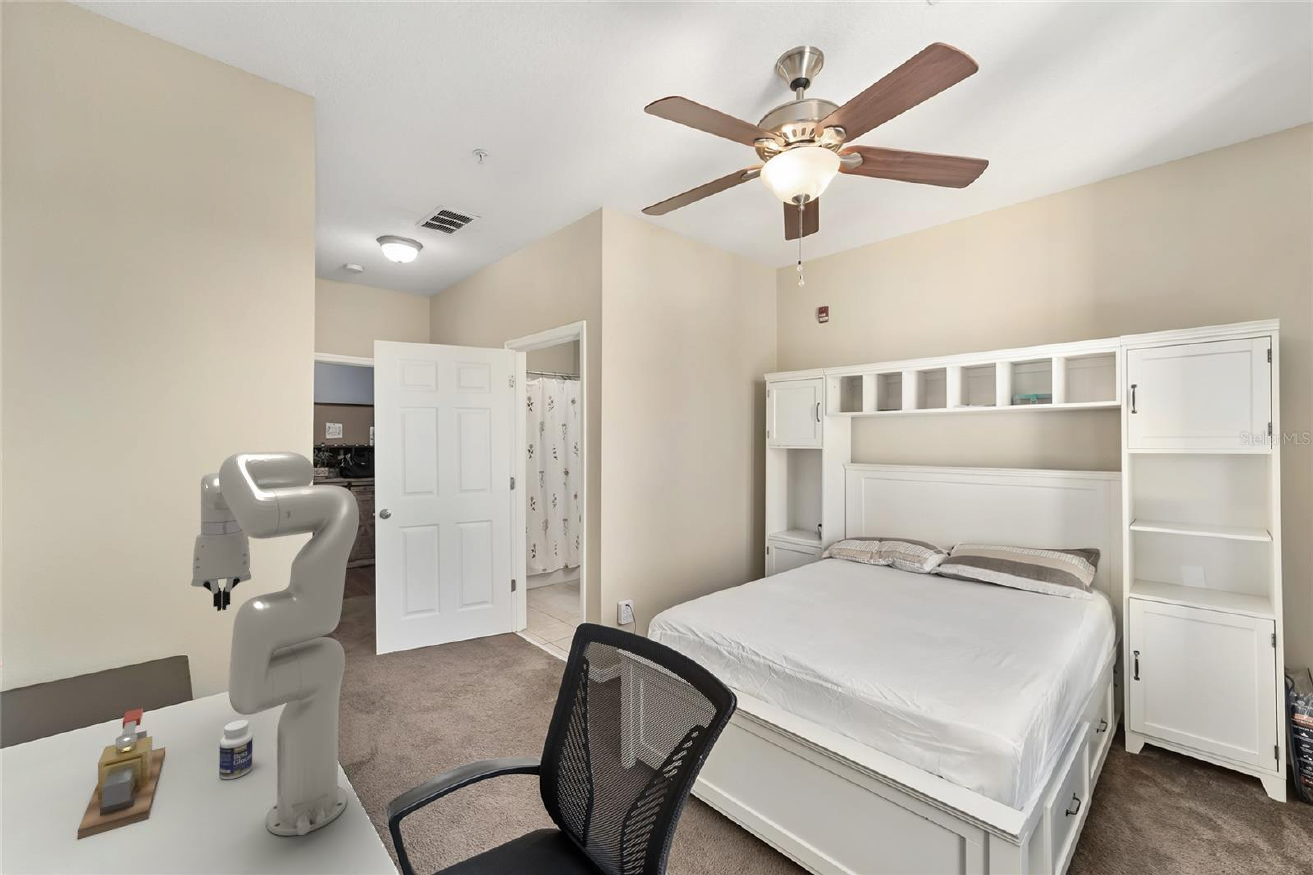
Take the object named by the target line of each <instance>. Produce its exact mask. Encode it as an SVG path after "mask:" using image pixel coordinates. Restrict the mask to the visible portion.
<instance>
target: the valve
mask: <svg viewBox="0 0 1313 875" xmlns="http://www.w3.org/2000/svg"><path fill="white" fill-rule="evenodd" d="M147 731H148V730H144V731H140V732H139V731H138V732H135V733H136V734H137V746H136V747H134V748H132V749H130V750H127V751H123V752H116V743H115V744H112V745H107V746H104V749H103V751H102V753H101V755H100V758H99V760H98V762H97V784H98V800H99V799H102V802H101V805H100V816H101V815H104V814H108V813H112V812H115V811H119V810H122V809H126V808H129V807H133V806H134V804H135V800H136V789H140V788H144V787H147V786H148V783H149V780H150V776H151V773H152V750H153V736H148V732H147ZM133 790H134V791H133Z"/></svg>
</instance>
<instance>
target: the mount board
mask: <svg viewBox="0 0 1313 875" xmlns="http://www.w3.org/2000/svg"><path fill="white" fill-rule="evenodd" d="M165 755H166V747H165V746H164V747H160V748H156V749H152V773H151V776H150V780H149V783H148V786H147V787H144V788H140V789H136V800H135V804H134V806H133V807H129V808H126V809H122V810H119V811H115V812H112V813H108V814H104V815H101V816H100V805H101V802H102V799H99V800H98V783H97V784H96V786H95V789H94V791H93V793H92V795H91V797H90V800H89V802H88V805H87V807H86V809H85V812H84V815H83V817H82V819H81V821H80V823H79V826H78V828H77V840H78V839H82V838H86V837H90V836H93V835H96V834H100V833H103V832H106V831H110V830H113V829H116V828H117V829H118V828H120V827H123V826H127V825H130V824H134V823H137V822H140V821H145V820H148V819H149V817H150V814H151V809H152V805H153V802H154V799H155V793H156V790H157V788H158V787H157V786H158V783H159V779H160V774H161V771H162V768H163V765H164V764H163V763H164V760H165ZM133 791H134V790H133Z"/></svg>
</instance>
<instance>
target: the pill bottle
mask: <svg viewBox="0 0 1313 875" xmlns="http://www.w3.org/2000/svg"><path fill="white" fill-rule="evenodd" d="M249 727H250V726H249V721H248V720H246V719H241V720H240V719H239V720H235V721H232V722H229V723H227V724H226V725H225V726H224V728H223V729H224V730H223V731H224V732H223V736H222V738H221V739H220V740H219V759H218V760H219V763H218V764H219V769H218V770H219V771H218V772H219V777H220V779H222V780H233V779H237V778H239V777H243V776H244V775H246V774H248V773H249V772H250V771H251V770H252V768H253V737H254V736H253V732H252V731H250V730H249Z"/></svg>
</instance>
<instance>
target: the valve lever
mask: <svg viewBox="0 0 1313 875" xmlns="http://www.w3.org/2000/svg"><path fill="white" fill-rule="evenodd" d="M143 715H144V708H143V707H141V708H138V709H133V710H129V711H128V710H127V711H125V713H124V716H123V719H122V734H121V735H119V736H118V737H117V738H115V744H116V752H123V751H127V750H130V749H132V748H134V747H136V746H137V734H136V733H137V732H136V728H137V726H138V727H139V726H140V725H141V723H142V720H143V719H142V718H143Z"/></svg>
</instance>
